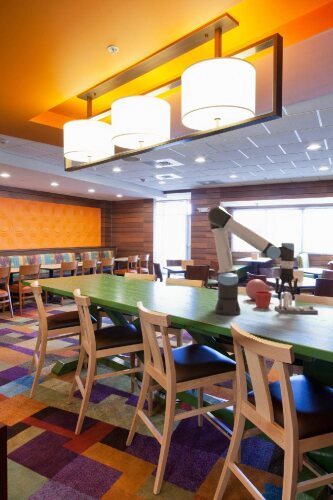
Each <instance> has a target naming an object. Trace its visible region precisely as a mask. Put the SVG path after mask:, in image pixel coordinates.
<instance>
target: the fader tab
mask: <svg viewBox="0 0 333 500" xmlns="http://www.w3.org/2000/svg"><path fill="white" fill-rule="evenodd" d="M289 295H290V292H288V291H283V295H282V306H283V308H286V307H289V306H290V305H289Z"/></svg>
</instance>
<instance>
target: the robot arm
mask: <svg viewBox="0 0 333 500" xmlns="http://www.w3.org/2000/svg"><path fill="white" fill-rule="evenodd" d="M207 219H208V221H209V227H210V231H211V232H213V236H214V242H215V249H216V250H215V251H216V257H217V261H218V267H219V268H218V270H217V281H218V282H217V301H216V304H215V307H214V313H215V314H217V315H222V316H238V315H240V314H241V307H240V305H239V300H238V298H239V276H238V274H237V269H235V268H234V266H233V260H232V254H231V249H230V248H231V247H230V241H229V235H228V232H230V233H232V234H233V235H235V236H236V237H237V238H239V239H241V240H242V241H243V242H245V243H246V244H248V245H250V246H251V247H253V248H254V249H256V250H257V251H259V252H260V256H261V257H262V258H269V259H270V260H276V259H280V270H279V271H280V272H279V276H277V277H276V276H275V278H274V279H275V286H274V287H275V288H274V291H275V292H274V293H275V294H277V299H278V300H279V302H278V306H279V305H281V306H283V294H282V292H283V290H284V287H285V284H288V288H289V289H288V290H289V306H293V301H294V298H295V297H294V296H295V295H297V294H298V281H299V278H297V277H295V276H294V264H295V263H294V261H295V244H294V243H293V242H282V243H281V244H280V245H275V244H273V243H272V242H270V241H269V240H267V239H266V238H264V237H263V236H261V235H259V234H258V233H256V232H255V231H253V230H252V229H250V228H249V227H247V226H246V225H244V224H243V223H241V222H240V221H238V220H236V219H235V218H234V216H233V215H232V214H230V212H228V211H226V210H225V208H223V207H222V206H220V205H219V206H217V205H216V206H213V207H212V208H210V209H209V211H208V212H207ZM292 281H293V283H292Z"/></svg>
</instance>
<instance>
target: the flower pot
mask: <svg viewBox="0 0 333 500" xmlns="http://www.w3.org/2000/svg"><path fill="white" fill-rule="evenodd" d="M254 293H255V300H254V301H255V305H256V307H257V308H259V309H268V308H270V304H271V300H272V295H273V294H272V291H269V292H265V291H256V292H254Z"/></svg>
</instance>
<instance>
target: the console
mask: <svg viewBox="0 0 333 500" xmlns="http://www.w3.org/2000/svg"><path fill="white" fill-rule="evenodd" d="M274 310H275V311H277V312H278V313H280V314H283V315H284V314H289V315H291V314H292V315H298V314H299V315H319V310H317V309H315V308H314V306H312V305H309V306H294V305H292V306H290V305H289V307H286V308H283V305H282V306H281V305H279V304H278V306H277V305H275V306H274Z"/></svg>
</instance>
